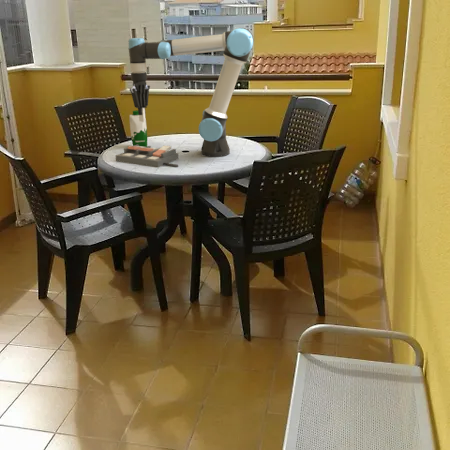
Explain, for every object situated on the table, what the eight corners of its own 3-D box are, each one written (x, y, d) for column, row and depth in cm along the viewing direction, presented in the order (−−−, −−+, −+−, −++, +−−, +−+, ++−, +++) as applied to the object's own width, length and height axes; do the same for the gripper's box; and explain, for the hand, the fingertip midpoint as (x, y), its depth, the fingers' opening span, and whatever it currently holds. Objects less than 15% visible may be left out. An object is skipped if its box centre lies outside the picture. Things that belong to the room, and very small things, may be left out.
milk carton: (146, 145, 303) (143, 109, 295) (149, 148, 295) (146, 112, 287) (131, 146, 301) (127, 110, 293) (133, 150, 293) (129, 113, 285)
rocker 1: (146, 149, 279) (146, 147, 279) (134, 149, 271) (134, 147, 270) (140, 148, 281) (140, 146, 281) (127, 148, 273) (127, 146, 272)
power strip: (192, 160, 268) (191, 150, 266) (172, 169, 254) (172, 158, 252) (137, 153, 285) (136, 144, 283) (116, 161, 271) (115, 151, 270)
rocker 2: (171, 148, 271) (170, 146, 270) (160, 156, 264) (159, 154, 263) (164, 147, 273) (164, 145, 272) (153, 155, 266) (152, 153, 265)
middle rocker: (159, 150, 275) (159, 148, 275) (146, 151, 267) (147, 148, 266) (152, 150, 277) (152, 147, 277) (140, 150, 269) (140, 147, 269)
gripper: (141, 70, 262) (144, 118, 271) (123, 73, 251) (128, 123, 260) (153, 71, 258) (156, 119, 267) (136, 73, 248) (140, 124, 257)
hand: (142, 121), depth 264 cm, fingers closed
